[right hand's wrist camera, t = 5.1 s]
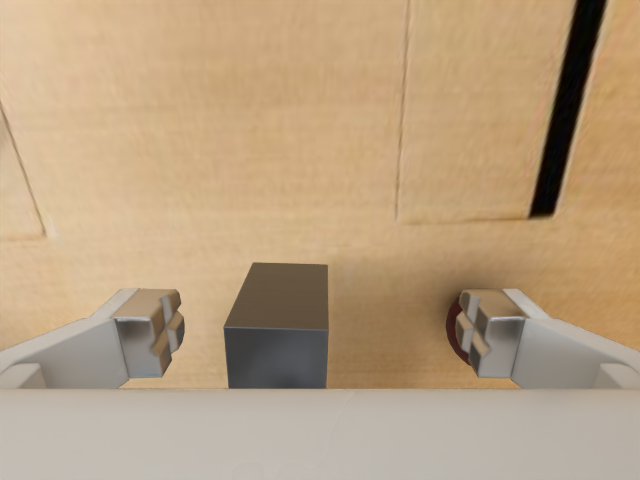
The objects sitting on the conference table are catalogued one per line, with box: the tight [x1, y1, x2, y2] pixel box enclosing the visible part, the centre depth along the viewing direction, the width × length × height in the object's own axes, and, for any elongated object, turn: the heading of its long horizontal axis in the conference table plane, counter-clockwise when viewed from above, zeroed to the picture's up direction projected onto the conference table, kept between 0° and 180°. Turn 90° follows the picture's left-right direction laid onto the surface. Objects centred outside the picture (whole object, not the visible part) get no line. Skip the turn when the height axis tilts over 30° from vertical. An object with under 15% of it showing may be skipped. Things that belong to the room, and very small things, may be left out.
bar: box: [224, 263, 328, 389], centre depth 26 cm, size 24×5×8 cm, turn 178°
